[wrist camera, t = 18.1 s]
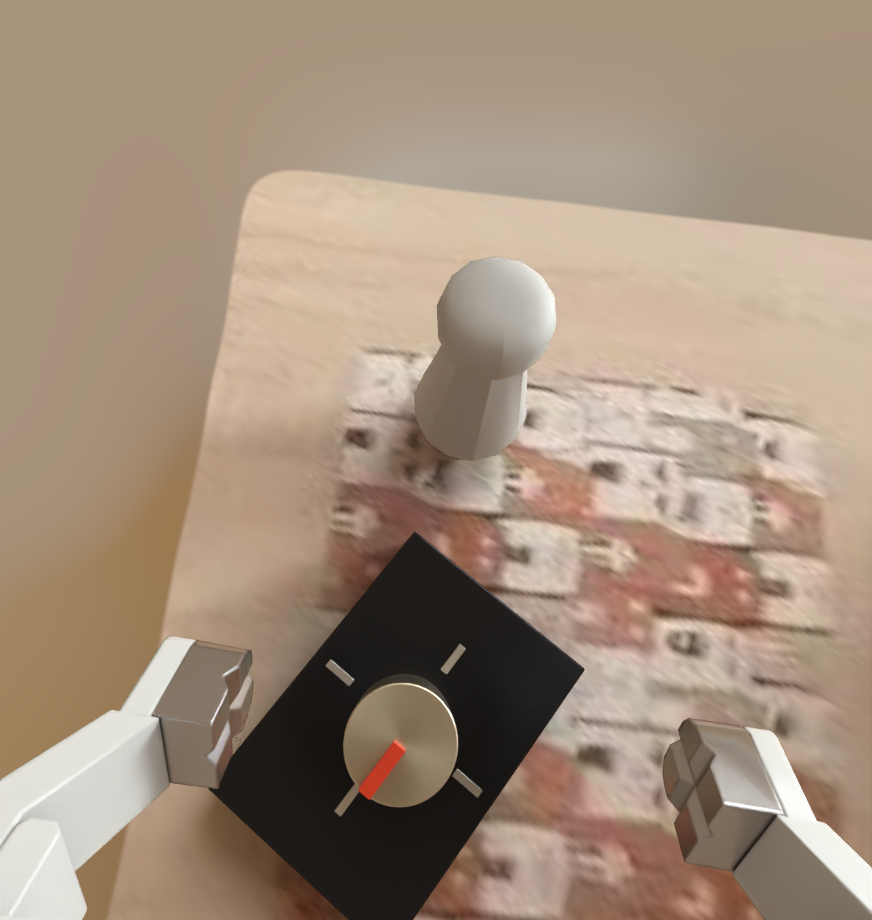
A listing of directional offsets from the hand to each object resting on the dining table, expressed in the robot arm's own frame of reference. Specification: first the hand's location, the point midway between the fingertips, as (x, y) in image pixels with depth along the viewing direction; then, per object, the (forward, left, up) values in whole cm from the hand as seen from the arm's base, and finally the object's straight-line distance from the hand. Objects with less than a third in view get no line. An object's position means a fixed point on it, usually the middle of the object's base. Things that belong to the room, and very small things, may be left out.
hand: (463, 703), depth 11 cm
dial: (+3, +1, -16) cm, 16 cm away
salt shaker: (-11, -6, -19) cm, 23 cm away
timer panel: (+3, +1, -19) cm, 19 cm away
